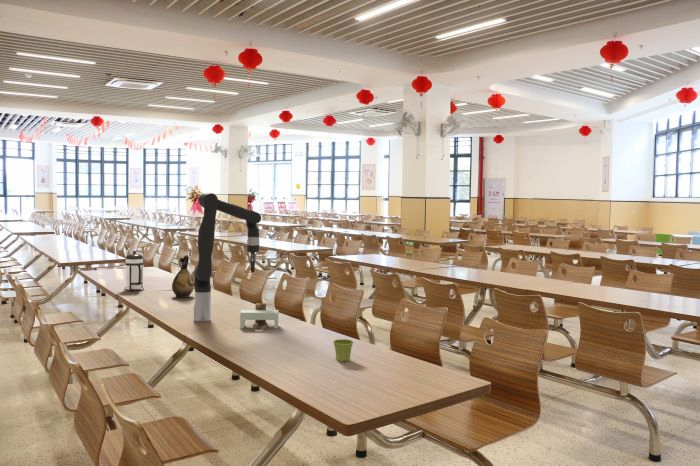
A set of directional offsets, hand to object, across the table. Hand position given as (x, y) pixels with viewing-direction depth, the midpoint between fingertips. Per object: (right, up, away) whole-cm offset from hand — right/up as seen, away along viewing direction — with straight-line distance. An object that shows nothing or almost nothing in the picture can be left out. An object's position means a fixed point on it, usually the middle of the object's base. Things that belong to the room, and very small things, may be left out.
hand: (252, 271), depth 355 cm
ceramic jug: (-59, -22, +56) cm, 85 cm away
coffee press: (-102, -19, +77) cm, 130 cm away
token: (+10, -30, -39) cm, 51 cm away
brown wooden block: (+9, -29, -29) cm, 42 cm away
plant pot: (+57, -35, -91) cm, 113 cm away
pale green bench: (+9, -29, -30) cm, 43 cm away
